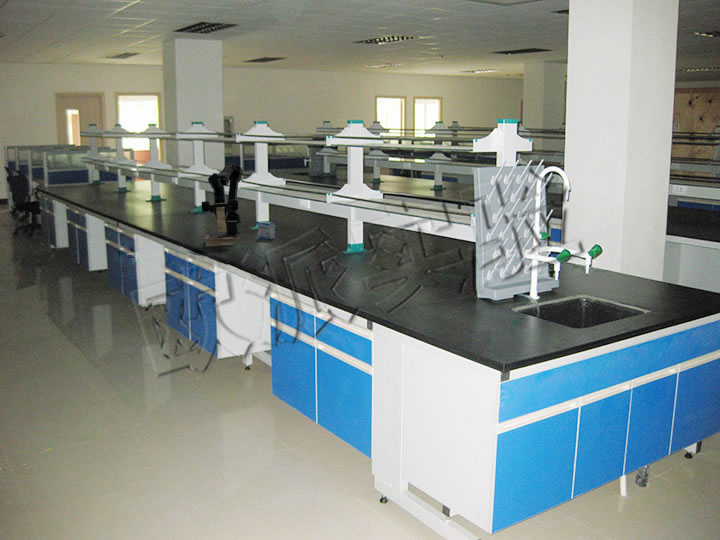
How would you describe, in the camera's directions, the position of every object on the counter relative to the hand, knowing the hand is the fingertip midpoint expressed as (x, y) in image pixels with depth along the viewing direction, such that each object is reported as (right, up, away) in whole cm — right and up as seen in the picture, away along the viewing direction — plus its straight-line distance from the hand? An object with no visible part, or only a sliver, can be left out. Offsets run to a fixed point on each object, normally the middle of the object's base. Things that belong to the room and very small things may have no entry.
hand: (221, 218), depth 356 cm
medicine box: (+21, -10, +16) cm, 29 cm away
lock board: (-2, -13, +6) cm, 14 cm away
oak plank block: (0, -6, +3) cm, 7 cm away
